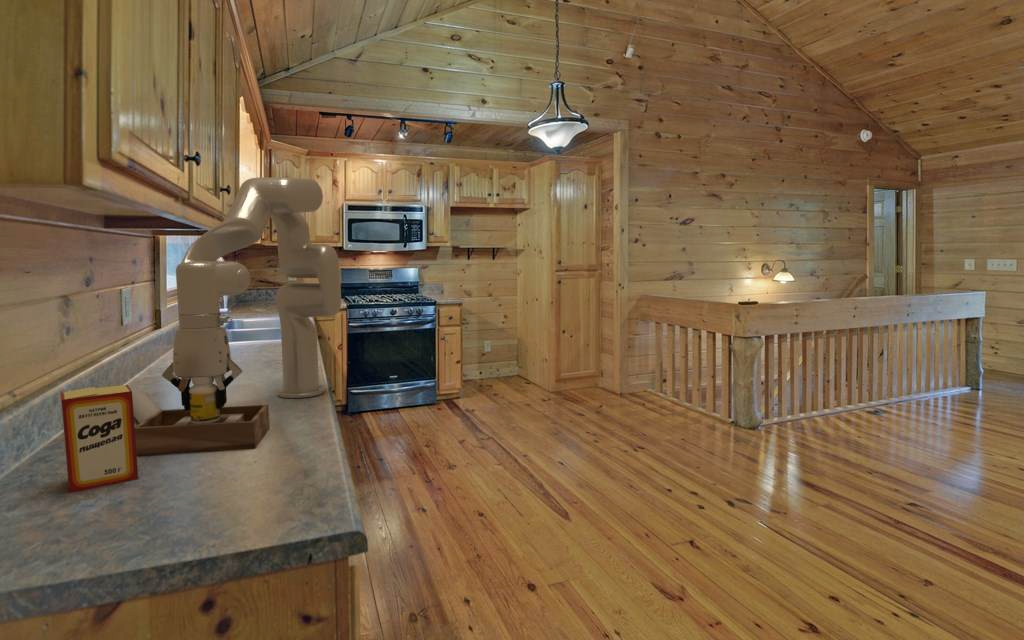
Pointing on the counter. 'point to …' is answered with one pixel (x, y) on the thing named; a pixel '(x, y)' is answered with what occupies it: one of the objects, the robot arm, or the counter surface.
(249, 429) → the crate
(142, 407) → the tube
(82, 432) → the baking soda box
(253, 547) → the counter surface
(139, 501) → the counter surface
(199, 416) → the supplement bottle
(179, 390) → the robot arm
